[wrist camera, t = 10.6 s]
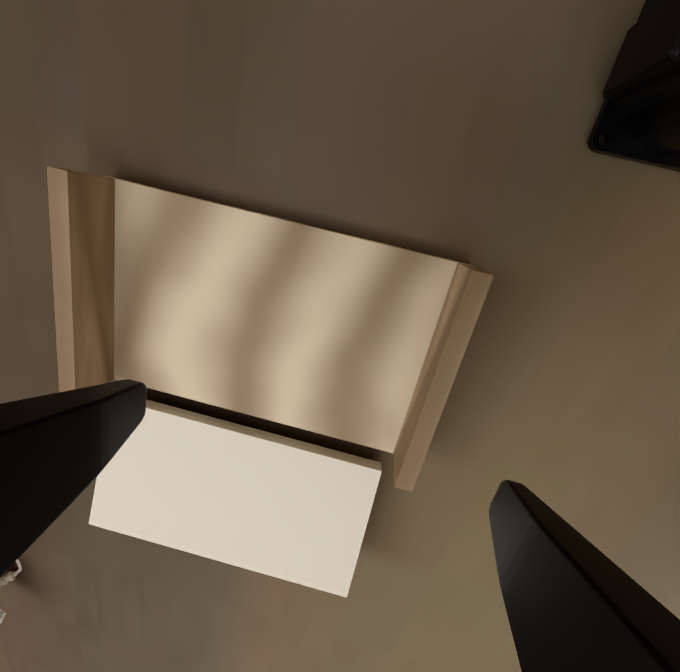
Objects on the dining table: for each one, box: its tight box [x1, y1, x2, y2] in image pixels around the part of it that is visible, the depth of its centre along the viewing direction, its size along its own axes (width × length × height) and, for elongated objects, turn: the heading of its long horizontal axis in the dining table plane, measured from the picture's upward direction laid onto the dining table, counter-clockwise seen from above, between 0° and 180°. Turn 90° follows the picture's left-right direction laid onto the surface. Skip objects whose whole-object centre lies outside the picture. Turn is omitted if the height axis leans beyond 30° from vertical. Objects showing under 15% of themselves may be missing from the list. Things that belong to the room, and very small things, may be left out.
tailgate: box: [89, 400, 382, 597], centre depth 23 cm, size 18×2×9 cm
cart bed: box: [47, 166, 494, 492], centre depth 19 cm, size 21×12×4 cm, turn 77°
